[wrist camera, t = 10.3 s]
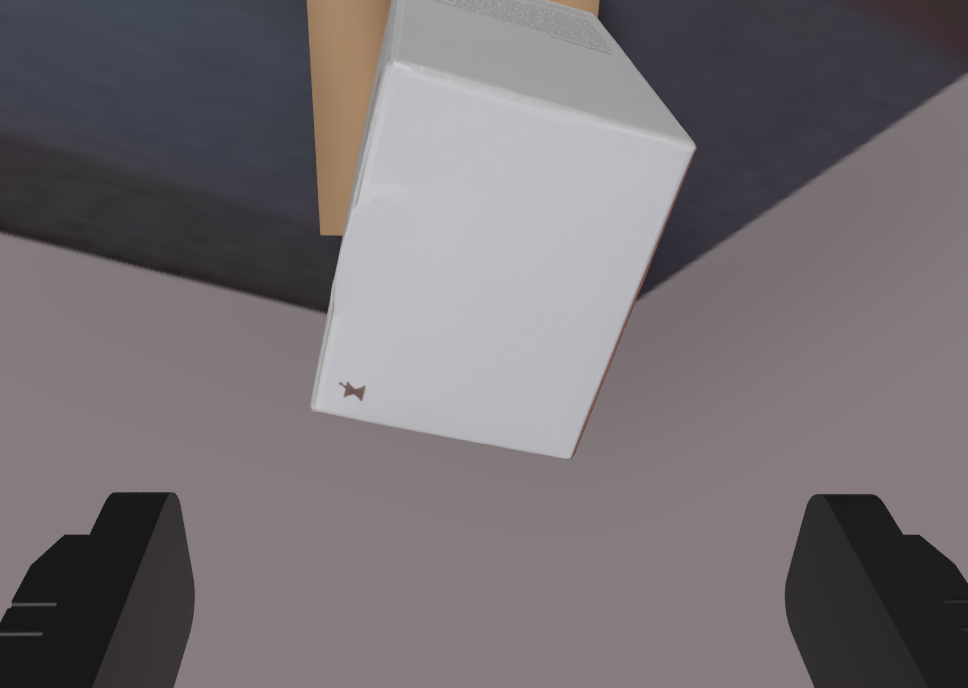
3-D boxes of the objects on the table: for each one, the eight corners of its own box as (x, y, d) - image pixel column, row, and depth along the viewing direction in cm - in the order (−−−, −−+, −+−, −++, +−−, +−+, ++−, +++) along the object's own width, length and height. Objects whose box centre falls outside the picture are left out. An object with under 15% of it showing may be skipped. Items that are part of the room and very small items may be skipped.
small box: (526, 239, 33) (573, 470, 21) (349, 197, 32) (300, 418, 20) (601, 8, 29) (705, 143, 18) (401, -50, 28) (378, 56, 16)
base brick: (584, -51, 32) (602, -33, 28) (563, 196, 36) (576, 238, 33) (319, -60, 31) (304, -42, 28) (331, 192, 36) (320, 234, 32)
